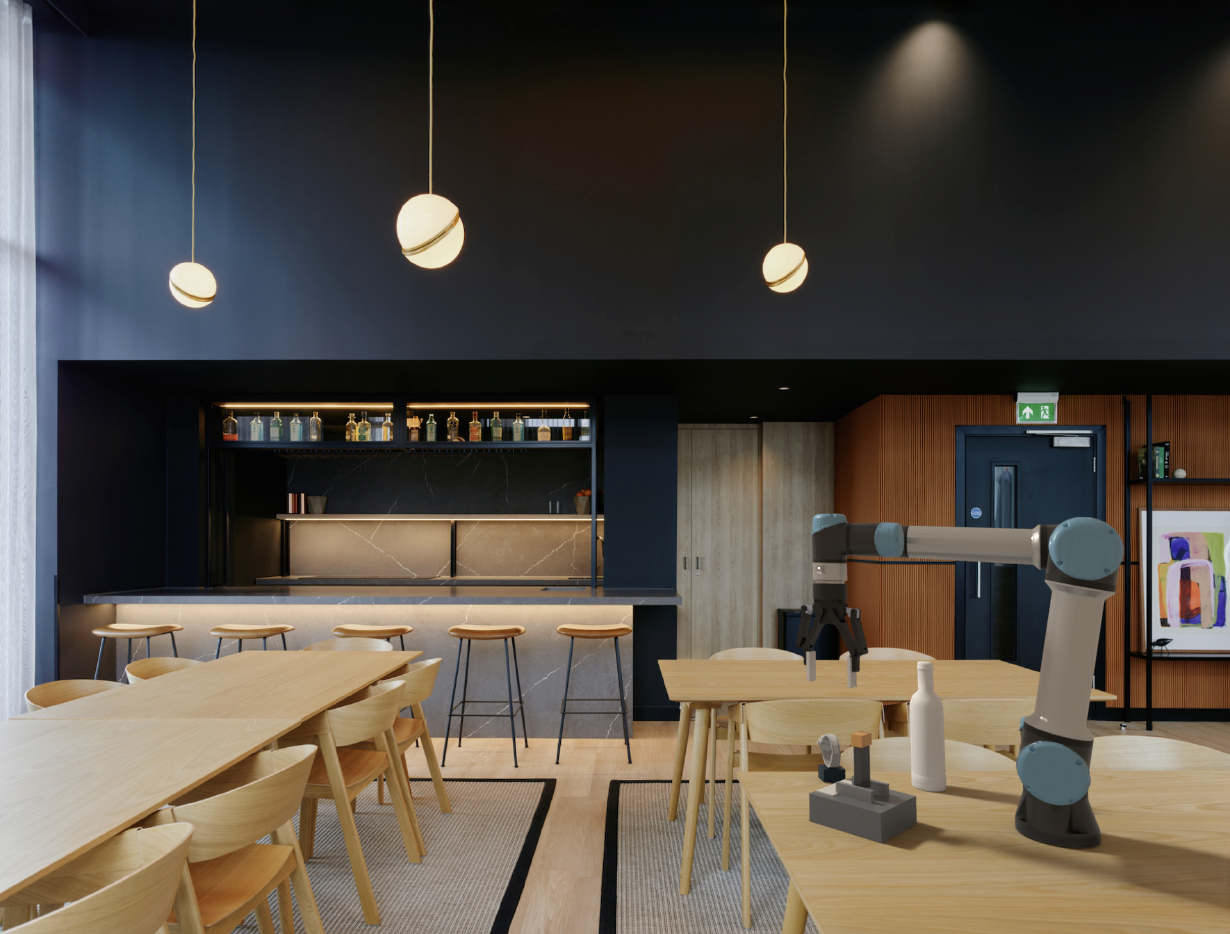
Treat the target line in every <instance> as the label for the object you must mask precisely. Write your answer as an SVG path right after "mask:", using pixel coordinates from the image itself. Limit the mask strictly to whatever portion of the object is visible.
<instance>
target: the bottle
mask: <svg viewBox="0 0 1230 934" xmlns="http://www.w3.org/2000/svg"><path fill="white" fill-rule="evenodd" d="M916 663H917V666H916V670H917V691H915V692H914V693H913V694H912V696H911V698H910V702H909V721H910V722H909V728H910V729H909V730H910V731H909V732H910V764H911V766H910V768H911V770H910V780H911V785H912V787H914V788H915V789H917V790H920V791H925V792H930V793H931V792H932V793H941V792H944V791H946V790H947V774H946V770H947V769H946V748H945V747H946V746H945V744H946V743H945V718H944V717H945V716H944V703H943V701H942V699H941V697H940V696H939V694H937V693H936V692H935V690H934V686H935V685H934V683H935V682H934V670H935V668H934V663H933V662H931V661H927V660H926V661H925V660H924V661H923V660H921V661H920V660H918V661H917V662H916Z"/></svg>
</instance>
